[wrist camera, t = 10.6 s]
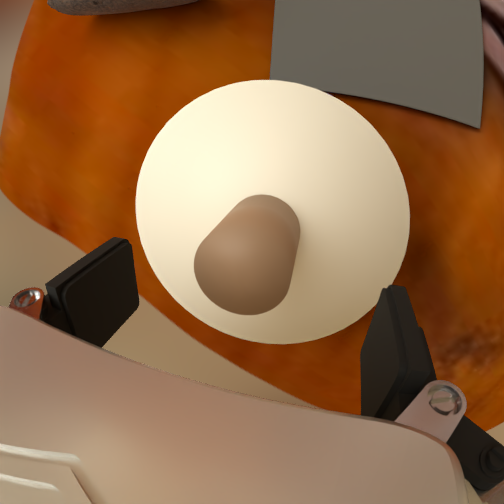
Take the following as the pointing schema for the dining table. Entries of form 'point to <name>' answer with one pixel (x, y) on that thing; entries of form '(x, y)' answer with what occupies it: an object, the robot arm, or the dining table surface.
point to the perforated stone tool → (111, 6)
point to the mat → (385, 52)
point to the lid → (272, 211)
